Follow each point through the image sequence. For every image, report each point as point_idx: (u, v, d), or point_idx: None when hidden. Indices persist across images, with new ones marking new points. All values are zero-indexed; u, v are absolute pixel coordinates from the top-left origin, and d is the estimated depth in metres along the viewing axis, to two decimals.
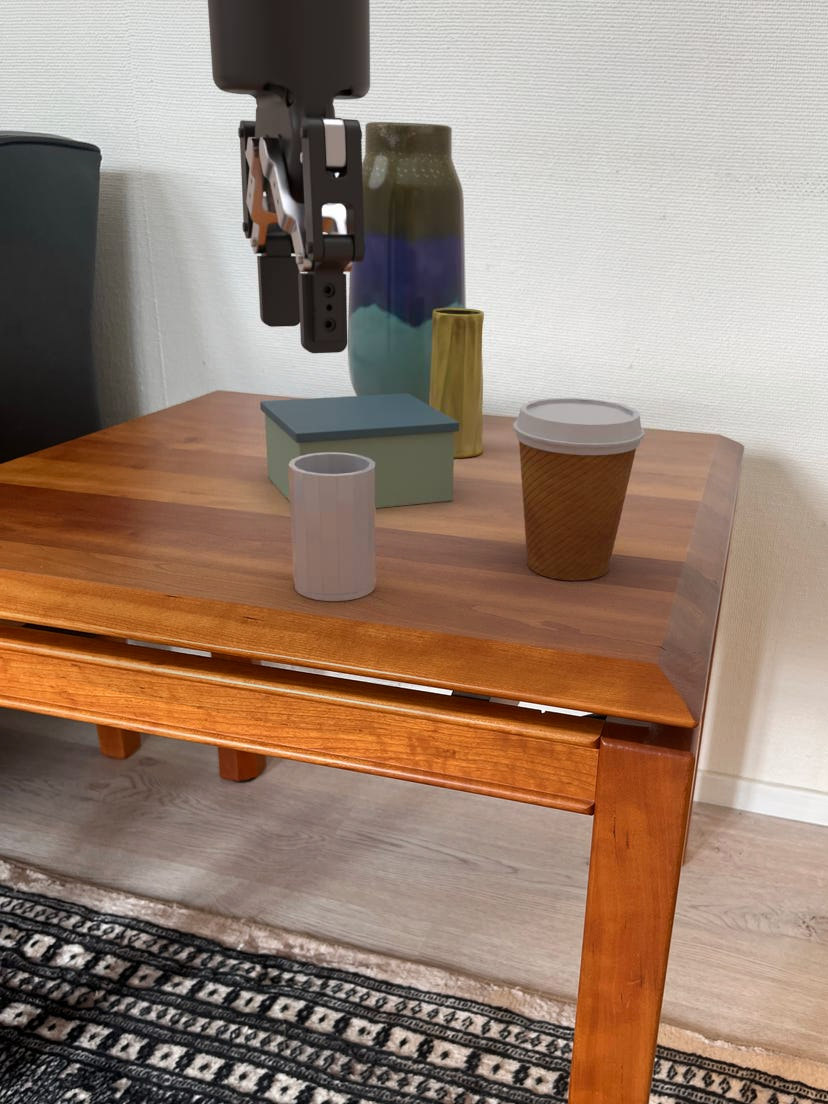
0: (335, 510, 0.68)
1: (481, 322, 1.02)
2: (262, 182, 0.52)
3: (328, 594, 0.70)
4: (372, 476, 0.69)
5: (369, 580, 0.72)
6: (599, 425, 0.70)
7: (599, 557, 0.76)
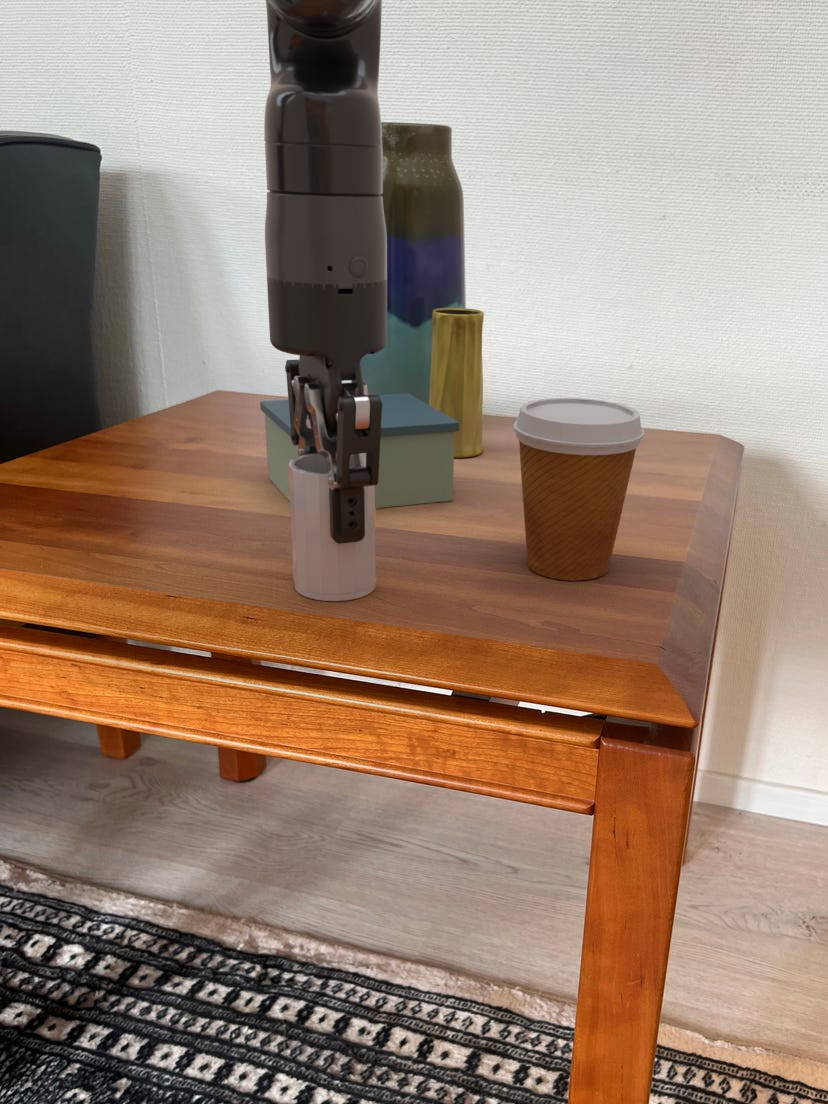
0: None
1: (481, 322, 1.02)
2: (306, 407, 0.69)
3: (328, 594, 0.70)
4: None
5: (369, 580, 0.72)
6: (599, 425, 0.70)
7: (599, 557, 0.76)
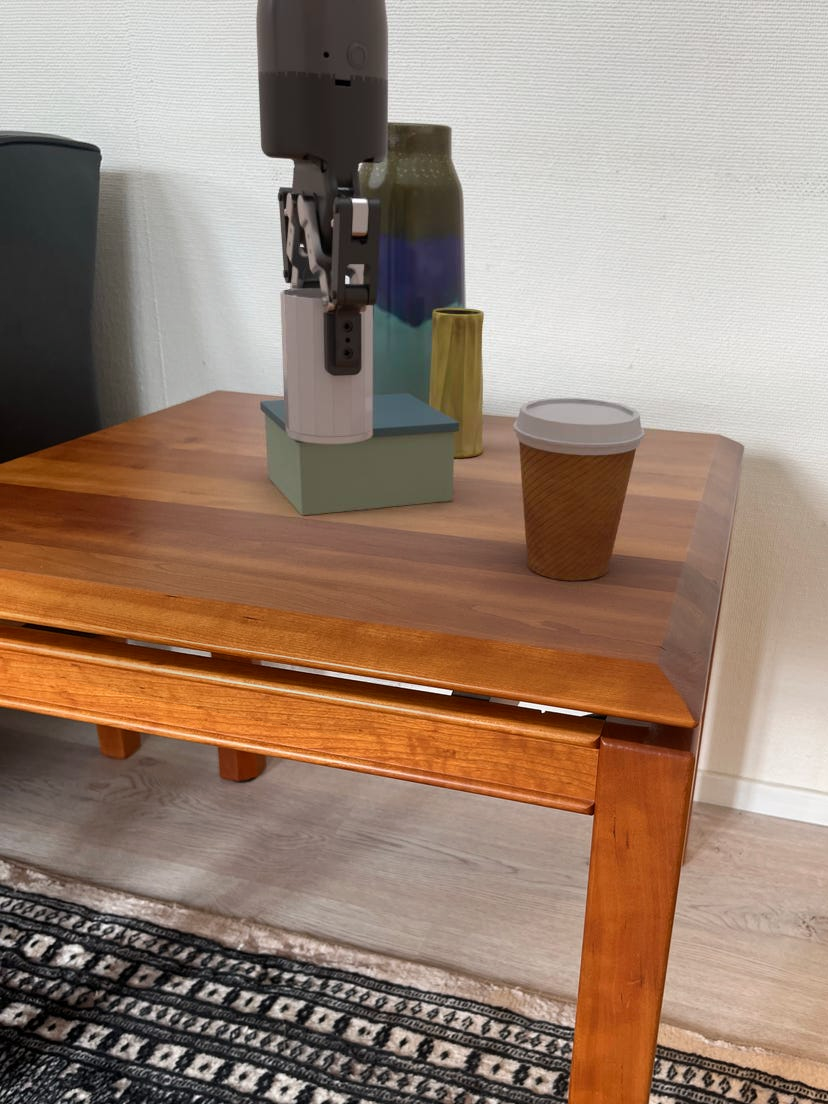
0: None
1: (481, 322, 1.02)
2: (299, 230, 0.64)
3: (322, 436, 0.66)
4: (370, 306, 0.64)
5: (366, 424, 0.67)
6: (599, 425, 0.70)
7: (599, 557, 0.76)
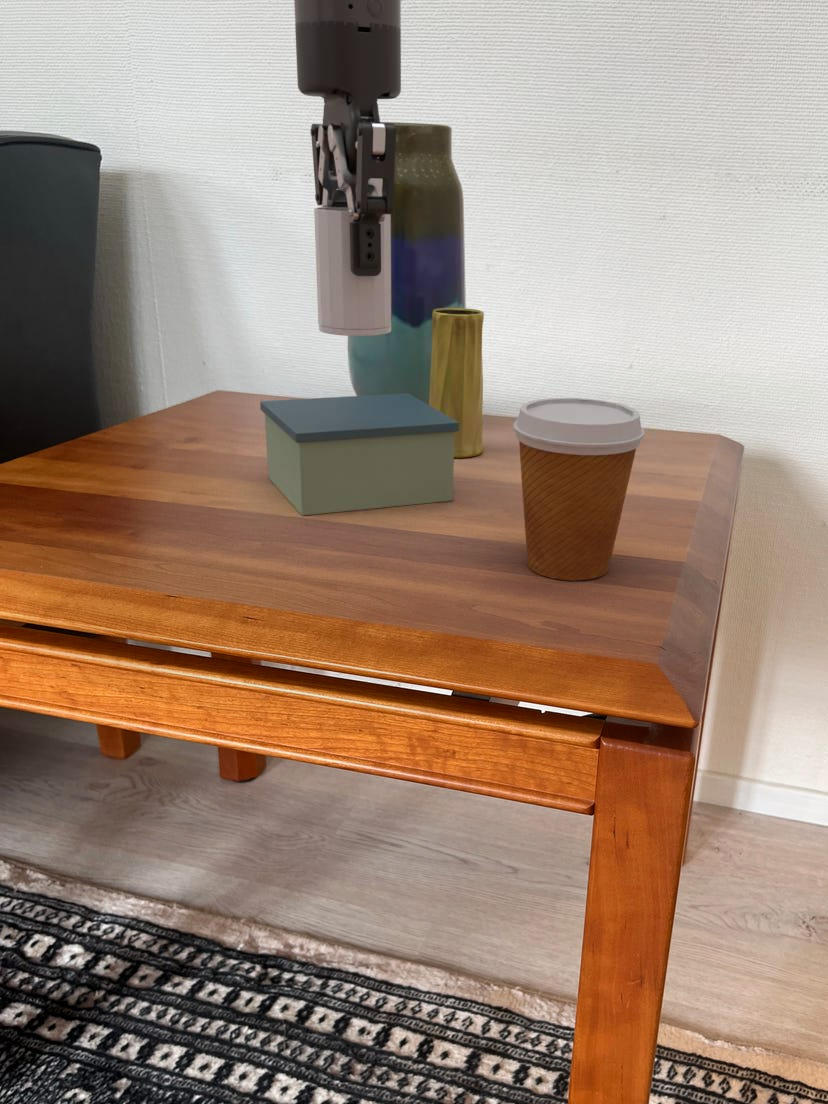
0: None
1: (481, 322, 1.02)
2: (329, 156, 0.77)
3: (349, 329, 0.79)
4: (388, 219, 0.78)
5: (385, 320, 0.80)
6: (599, 425, 0.70)
7: (599, 557, 0.76)
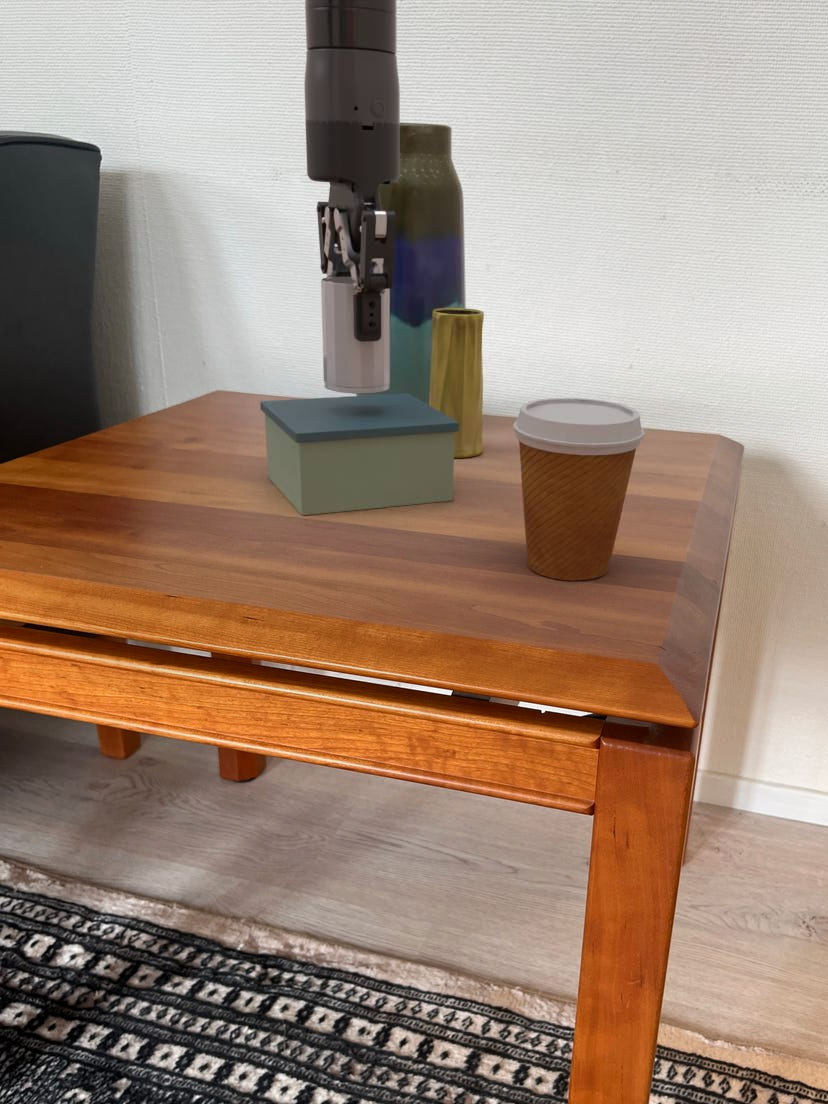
0: None
1: (481, 322, 1.02)
2: (334, 233, 0.86)
3: (352, 387, 0.88)
4: (388, 289, 0.87)
5: (385, 379, 0.89)
6: (599, 425, 0.70)
7: (599, 557, 0.76)
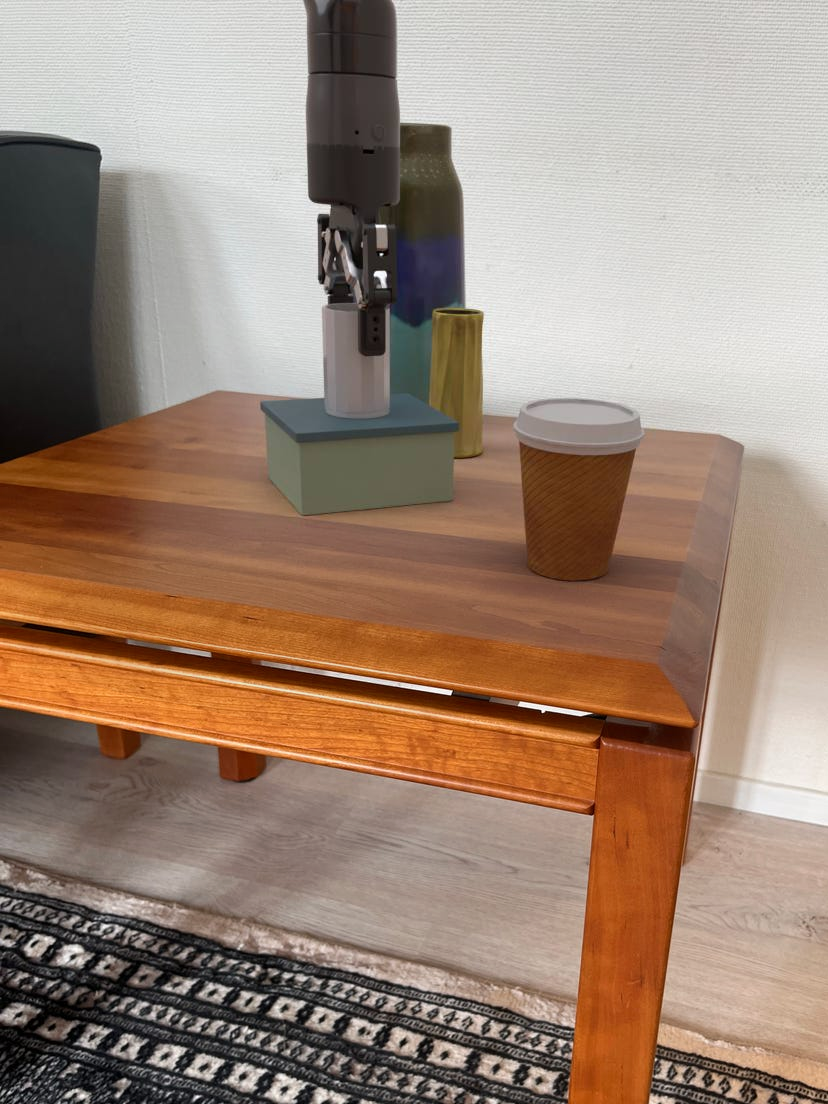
0: None
1: (481, 322, 1.02)
2: (334, 253, 0.87)
3: (352, 412, 0.89)
4: (388, 316, 0.87)
5: (385, 404, 0.90)
6: (599, 425, 0.70)
7: (599, 557, 0.76)
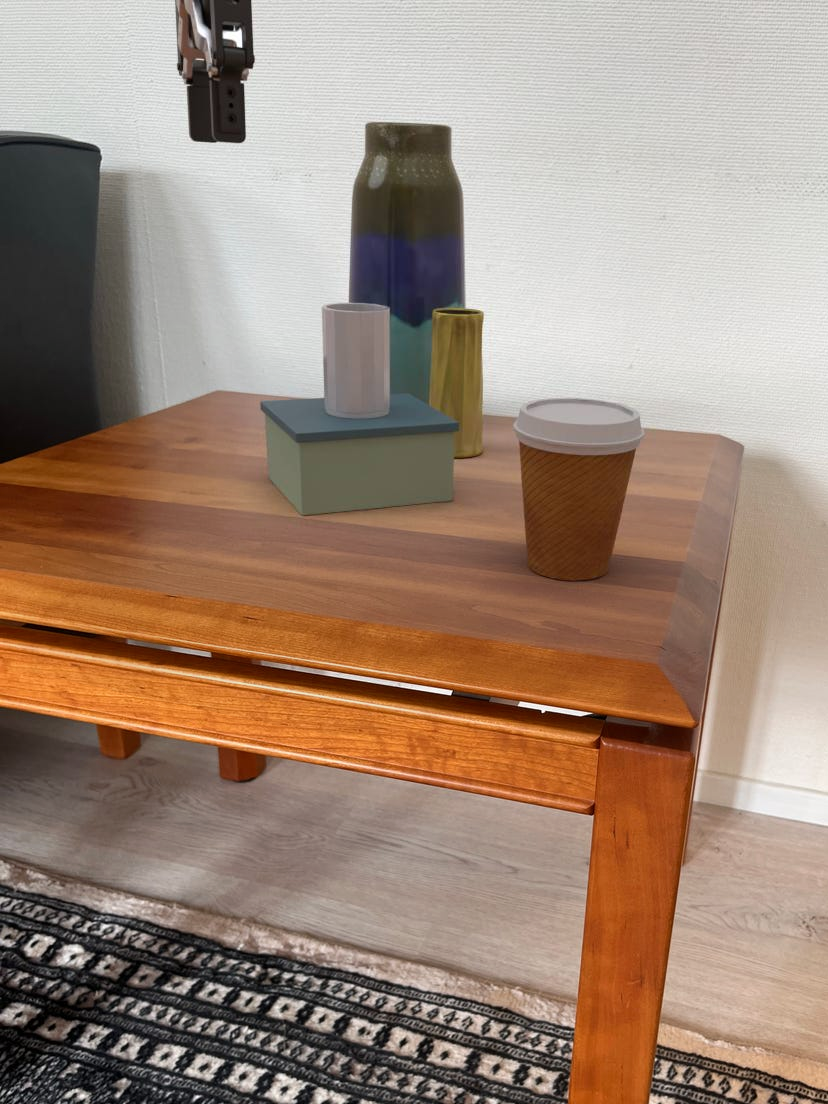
0: (358, 341, 0.86)
1: (481, 322, 1.02)
2: (188, 23, 0.72)
3: (352, 412, 0.89)
4: (388, 316, 0.87)
5: (385, 404, 0.90)
6: (599, 425, 0.70)
7: (599, 557, 0.76)
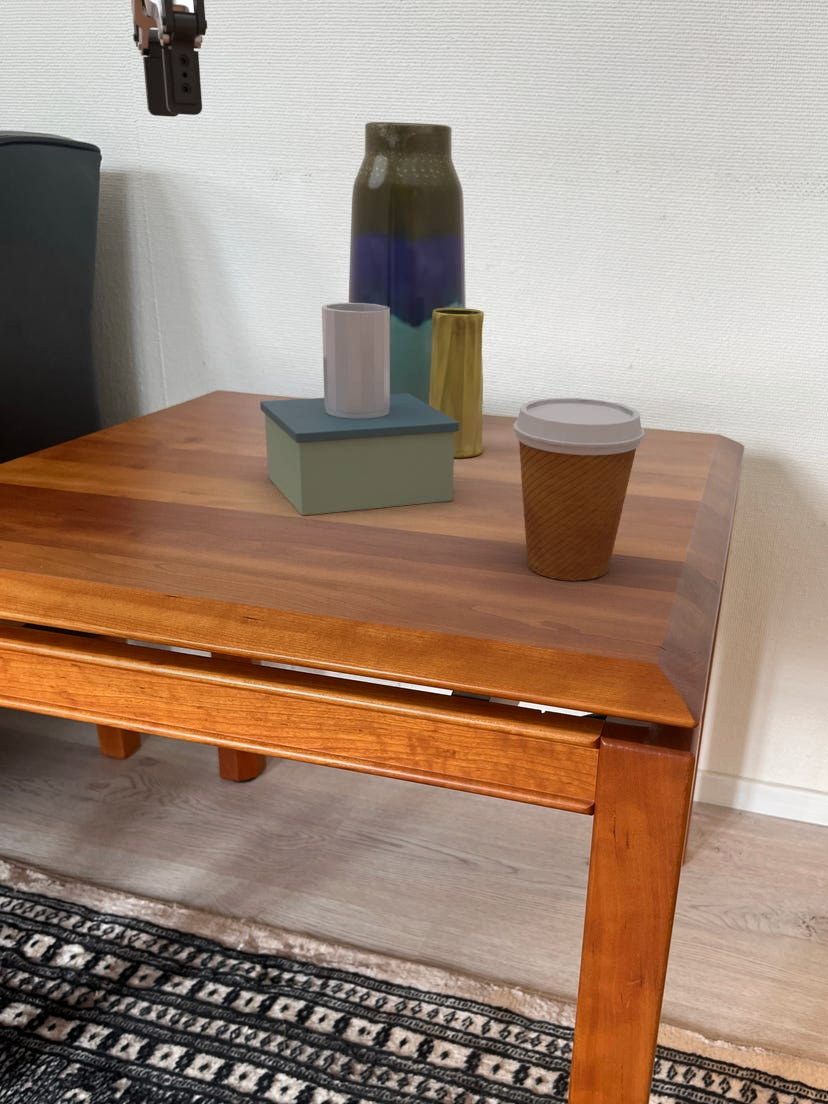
0: (358, 341, 0.86)
1: (481, 322, 1.02)
2: None
3: (352, 412, 0.89)
4: (388, 316, 0.87)
5: (385, 404, 0.90)
6: (599, 425, 0.70)
7: (599, 557, 0.76)
